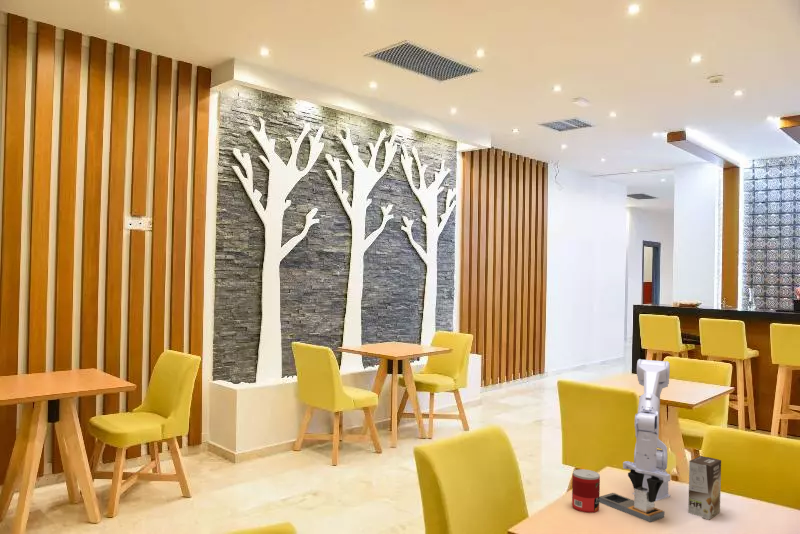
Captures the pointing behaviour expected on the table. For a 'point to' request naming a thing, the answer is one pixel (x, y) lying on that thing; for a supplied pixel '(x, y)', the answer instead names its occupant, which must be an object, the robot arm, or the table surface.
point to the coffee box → (704, 487)
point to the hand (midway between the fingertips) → (645, 498)
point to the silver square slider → (642, 500)
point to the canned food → (585, 490)
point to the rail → (629, 507)
